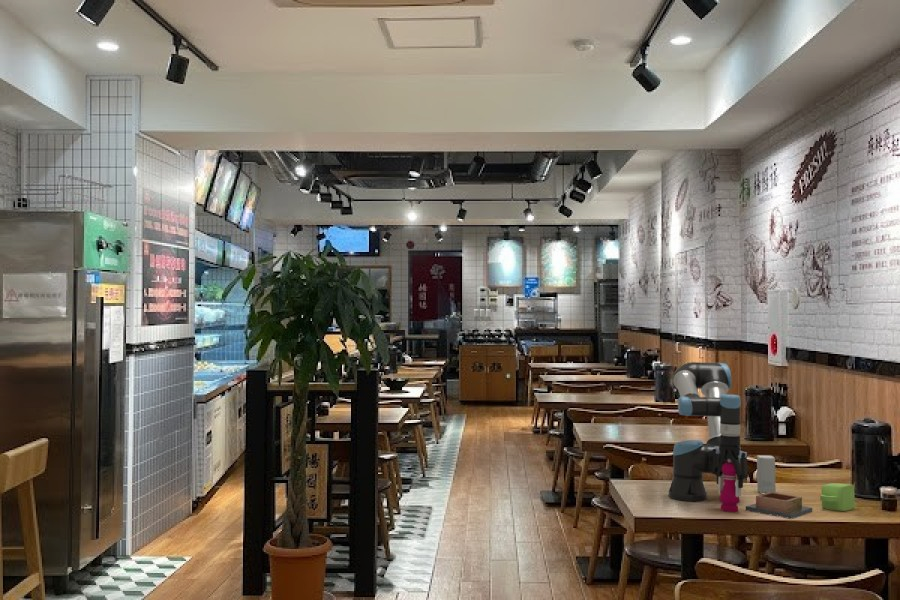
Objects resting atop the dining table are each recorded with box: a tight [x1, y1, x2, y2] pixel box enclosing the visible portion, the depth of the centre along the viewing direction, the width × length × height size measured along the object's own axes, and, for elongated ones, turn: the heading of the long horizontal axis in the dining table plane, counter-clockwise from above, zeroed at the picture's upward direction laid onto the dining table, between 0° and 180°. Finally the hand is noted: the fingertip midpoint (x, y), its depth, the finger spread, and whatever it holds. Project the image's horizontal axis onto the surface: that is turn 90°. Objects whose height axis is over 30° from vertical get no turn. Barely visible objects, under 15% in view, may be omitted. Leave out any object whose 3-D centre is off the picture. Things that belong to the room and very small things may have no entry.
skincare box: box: [756, 454, 777, 494], centre depth 360 cm, size 8×7×16 cm
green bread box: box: [819, 482, 856, 512], centre depth 333 cm, size 18×10×10 cm, turn 132°
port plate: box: [745, 492, 813, 519], centre depth 325 cm, size 18×18×6 cm
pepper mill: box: [719, 459, 740, 513], centre depth 325 cm, size 7×7×20 cm
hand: (729, 494), depth 325 cm, fingers closed on pepper mill, 6 cm apart
